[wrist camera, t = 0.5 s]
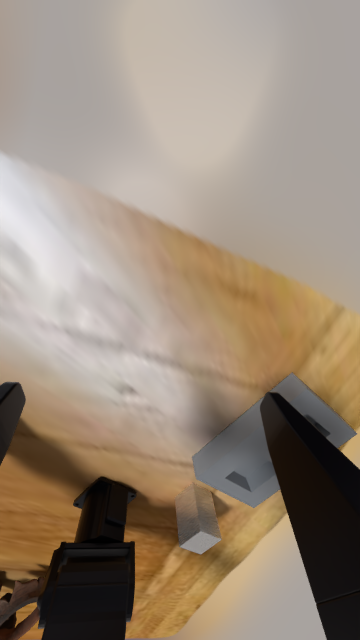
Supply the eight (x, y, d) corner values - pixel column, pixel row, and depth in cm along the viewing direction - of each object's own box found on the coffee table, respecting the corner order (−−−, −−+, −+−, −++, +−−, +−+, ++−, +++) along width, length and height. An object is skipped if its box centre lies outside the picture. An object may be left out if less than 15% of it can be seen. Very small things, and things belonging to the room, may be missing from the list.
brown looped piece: (-13, 554, 37) (-14, 618, 31) (52, 530, 43) (62, 580, 37) (-33, 618, 38) (-37, 693, 32) (34, 586, 44) (41, 643, 38)
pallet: (246, 486, 37) (253, 507, 34) (192, 457, 33) (195, 478, 30) (340, 416, 33) (357, 433, 30) (292, 372, 29) (307, 388, 26)
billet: (193, 505, 37) (200, 554, 32) (174, 496, 36) (179, 546, 30) (211, 491, 36) (221, 539, 31) (192, 482, 35) (200, 531, 29)
